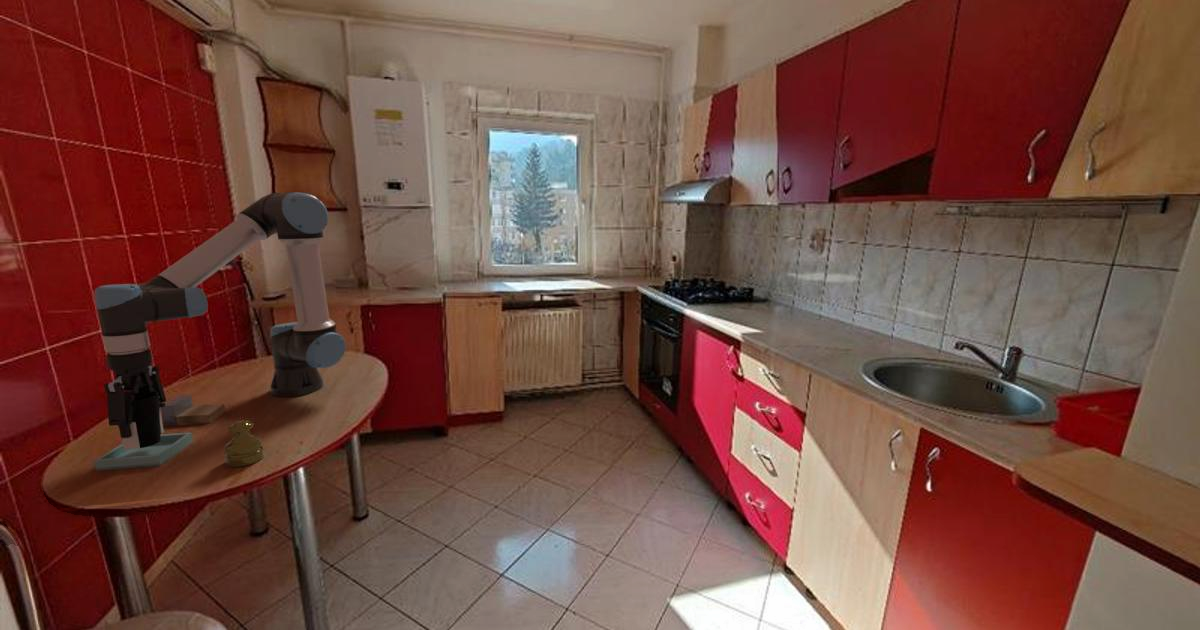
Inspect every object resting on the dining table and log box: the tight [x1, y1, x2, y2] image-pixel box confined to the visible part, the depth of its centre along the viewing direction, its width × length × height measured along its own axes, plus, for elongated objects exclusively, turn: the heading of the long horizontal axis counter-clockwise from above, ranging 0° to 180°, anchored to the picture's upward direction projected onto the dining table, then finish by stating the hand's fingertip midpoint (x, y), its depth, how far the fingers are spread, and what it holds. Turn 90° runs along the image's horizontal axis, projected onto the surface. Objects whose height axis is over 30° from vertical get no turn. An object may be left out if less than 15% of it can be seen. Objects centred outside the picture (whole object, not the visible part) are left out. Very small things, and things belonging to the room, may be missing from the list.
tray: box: [93, 432, 194, 472], centre depth 114 cm, size 13×13×2 cm
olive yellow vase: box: [223, 419, 265, 468], centre depth 112 cm, size 7×7×10 cm
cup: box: [132, 391, 162, 448], centre depth 112 cm, size 8×8×12 cm
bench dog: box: [160, 394, 194, 427], centre depth 133 cm, size 3×8×6 cm, turn 13°
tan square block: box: [176, 403, 226, 426], centre depth 135 cm, size 8×8×3 cm
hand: (144, 440), depth 113 cm, fingers closed on cup, 8 cm apart
